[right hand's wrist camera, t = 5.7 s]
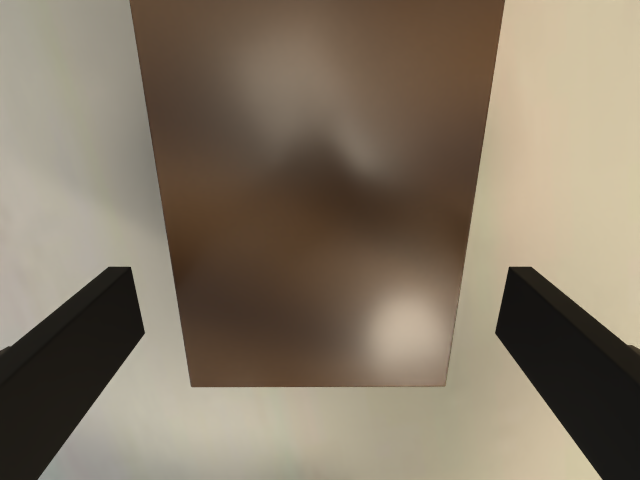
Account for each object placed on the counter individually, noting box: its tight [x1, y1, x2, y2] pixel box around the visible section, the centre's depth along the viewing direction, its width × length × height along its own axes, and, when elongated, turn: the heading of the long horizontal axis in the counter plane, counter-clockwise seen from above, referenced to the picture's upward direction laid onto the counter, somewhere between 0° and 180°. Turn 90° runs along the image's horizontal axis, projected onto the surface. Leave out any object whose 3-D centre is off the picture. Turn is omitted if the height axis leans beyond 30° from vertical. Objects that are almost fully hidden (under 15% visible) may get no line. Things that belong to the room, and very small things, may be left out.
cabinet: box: [130, 0, 505, 387], centre depth 17 cm, size 21×11×10 cm, turn 0°
